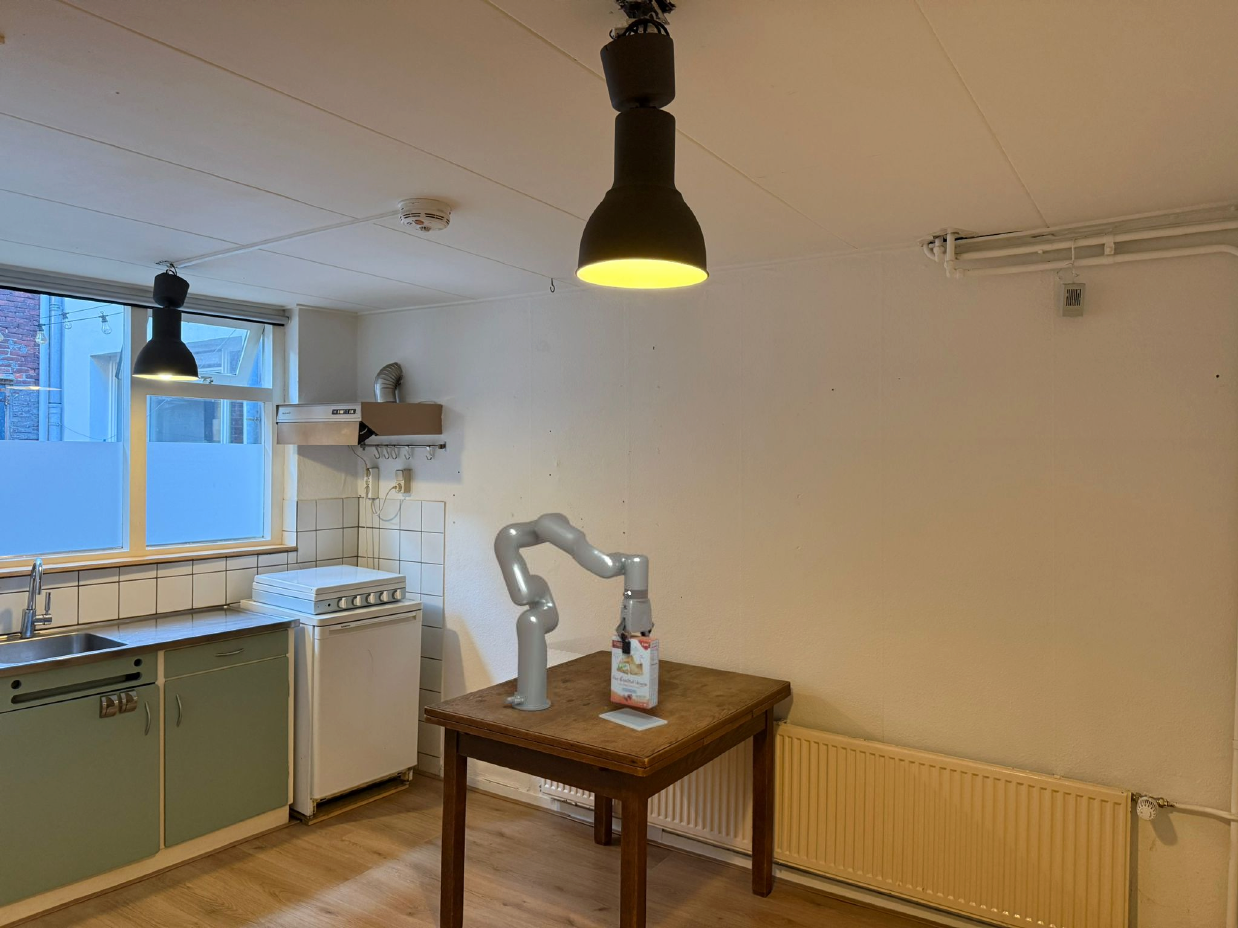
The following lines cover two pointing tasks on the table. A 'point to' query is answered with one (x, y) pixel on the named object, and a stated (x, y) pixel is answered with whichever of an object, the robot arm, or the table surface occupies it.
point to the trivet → (633, 719)
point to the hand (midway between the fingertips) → (634, 651)
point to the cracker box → (635, 672)
